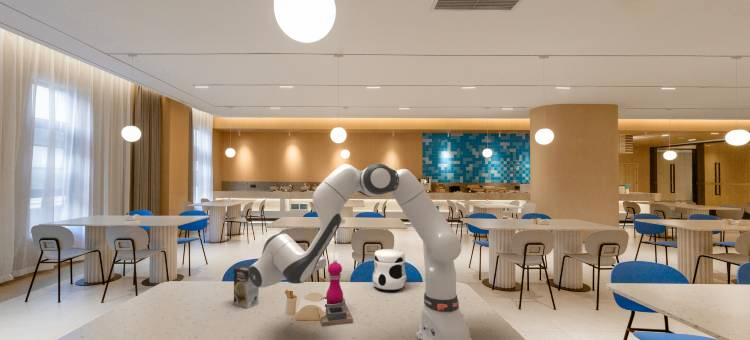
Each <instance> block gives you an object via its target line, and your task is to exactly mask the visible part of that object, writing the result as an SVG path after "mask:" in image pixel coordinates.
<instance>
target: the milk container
mask: <svg viewBox="0 0 750 340" xmlns="http://www.w3.org/2000/svg"><path fill="white" fill-rule="evenodd" d="M373 264H374V270H373V273H372V284H373V286H374V287H375V288H377V289H378V290H380V291H386V292H387V291H388V292H393V291H399V290H402V289H404V288H405V286H406V284H407V279H408V278H407V273H406V269H405V268H406V254H405V251H404V250H400V249H395V248H383V249H377V250H375V251H374V263H373Z"/></svg>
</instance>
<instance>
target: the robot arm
mask: <svg viewBox="0 0 750 340" xmlns="http://www.w3.org/2000/svg"><path fill="white" fill-rule="evenodd" d="M357 193H360V194H361V195H363V196H366V197H369V198H373V197H380V196H383V195H385V194H389V195H391V196H392V197H393V199H395V201H396V203H397V204H398V206H399V207H400V209H401V210H402V213H403V214H404V215H405V216H406V218H407V220H408V221H409V223H410V224H411V226H412V227H413V228H414V230H415V231H416V233H417V235H418V236H419V238H420V239H421V241H422V244H423V245H422V246H423V248H422V251H423V261H424V274H425V275H424V276H425V284H424V293H423V303H424V305H423V306H424V307H423V308H422V310H421V311H420V318H419V319H420V320H419V329H418V331H416V332H415V333H416V334H415V337H416V338H418V340H420V339H421V340H473V339H472V337H471V334H470V332H471V331H470V328H471V325H470V322H469V321H466V320H465V318H464V314H463V313H462V312H461V311H460V302H459V299H458V295H457V272H456V267H455V262H454V261H455V260H456V259H457V258H458V257H459V256H460V254H461V252H462V243H461V239H460V237H459V236H458V235H457V233H456V231H455V230H454V229H453V228H452V226H451V224H449V222H448V221H447V219H446V218H445V217H444V215H443V214H442V212H441V211H440V209H438V207H437V206H436V205H435V203H434V201H433V200H432V198H431V197H430V195H429V193H428V192H427V190H426V189H425V188H424V186H423V185H422V183H421V181H419V180H418V179H417V177H416V176H415V175H414V174H413V173H412V171H410V170H409V169H406V168H400V169H397V170H395V169H393V168H391V167H390V166H387V165H385V164H382V163H372V164H370V165H369V166H367V167H366V168H364V169H363V170H359V169H357V168H356V167H355V166H353V165H351V164H349V163H348V164H347V163H344V164H341V165H339V166H338V167H337V168H335V170H333V171H332V172H331V173H329V175H327V176H326V178H324V180H322V182H320V183H319V185H318V186H317V187H316V189H315V190H314V192H313V194H312V204H313V207H314V210H315V212H316V214H317V216H318V218H319V223H320V227H319V230H318V233H317V234H316V235H315V237H314V238H313V240H312V242H311V243H310V245H309V247H308V248H307V250H306V251H305V250H304V248H302V247H301V246H300V245H299V244H298V243H297V242H296V241H295V239H293V238H292V237H291V236H290V235H288V234H287V233H285V232H282V233H281V232H280V233H277V234H275V235H272V236H271V237H268V239H267V240H266V241H265V243H264V246H263V249H262V253H261V256H260V257H259V258H258V260H256V261H255V262H254V263H252V264H251V265H250V268H249V271H248V274H249V278H250V280H251V282H252V283H253V284H254V285H255V286H256V287H259V288H261V289H262V288H266V287H270V286H273V285H277V284H278V283H280V282H282V281H285V280H286V281H287V282H288V283H290V284H303V283H305V282H306V281H308V280H309V278H310V277H311V276H312V274H313V272H315V271H319V270H323V269H324V268H326V267H327V258H326V256H325V255H323V254H324V252H325V251H326V249H327V247H328V246H329V245H330V242H331V241H332V239H333V238H334V236H335V234H336V232H337V230H338V228H339V227H340V225H341V222H342V216H341V214H342V211H343V208H344V206H345V205H346V204H347V202H349V199H351V198H352V196H353V195H355V194H357Z"/></svg>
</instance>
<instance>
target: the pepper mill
mask: <svg viewBox="0 0 750 340" xmlns="http://www.w3.org/2000/svg"><path fill="white" fill-rule="evenodd" d="M342 271H343V267H342V265H341V264H340V263H339V262H338V260H337V259H336V258H334V259H333V260H332V262H331V263H330V264H329V265H328V267H327V272H328V278H329V287H328V289H327V291H326V294H325V297H326V299H327V300H328V302H327V304H338V303H341V300H342V299H343V298H344V293H343V290H342V288H341V287H342V286H341V284H340V282H341V281H340V279H341V278H342V277H341V276H342V274H341V273H342Z"/></svg>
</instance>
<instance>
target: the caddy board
mask: <svg viewBox="0 0 750 340" xmlns="http://www.w3.org/2000/svg"><path fill="white" fill-rule="evenodd" d="M324 298H325V299H326V296H323V297H321V298H320V299H319V300H322V299H324ZM327 302H328V300H327ZM325 307H326V315H325V316H324V317H321V319H320V318H319V321H320V324H321V327H325V326H326V327H327V326H328V327H329V326H336V325H344V324H345V325H346V324H352V323H354V318H353V316H352V314H351V312H350V310H349V308H348V306H347V304H346V299H345V297H343V299H342V300H341V303H338V304H325Z"/></svg>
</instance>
